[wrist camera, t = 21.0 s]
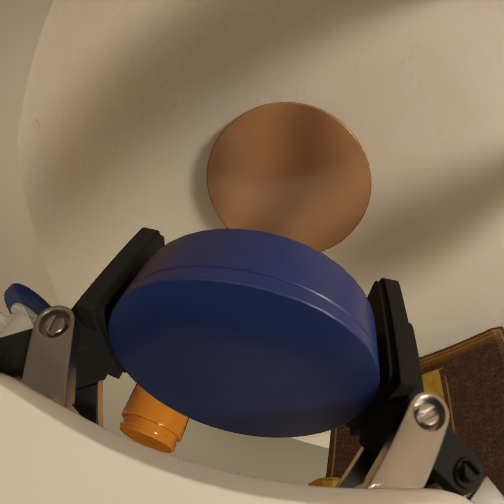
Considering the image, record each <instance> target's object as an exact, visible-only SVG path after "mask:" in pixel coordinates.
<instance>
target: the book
mask: <svg viewBox="0 0 504 504" xmlns="http://www.w3.org/2000/svg"><path fill="white" fill-rule="evenodd" d="M419 361H420V367H421V373H422V380H423V387H424V392H432V393H434V394H437V395H438V396H439V397H441V398H442V399H443V400H444V402H445V403H446V405H447V407H448V409H449V415H450V418H449V424H448V427H449V428H450V429H451V430H452V431H453V432H454V433H455V434H456V435H457V436H458V437H459V438H460V439H461V440H462V441H463V442H464V443H465V444H466V445H467V446H468V447H469V448H470V449H471V450H472V451H473V452H474V453H475V454H476V455H477V456H478V457H479V459H480V460H481V462H482V465H483V472H484V473H483V478H484V477H486V476H487V477H488V478H489V479H490V480H491V482H492V483H493V484H494V485H495V486H496V488H497V489H498V490H499V491H500V492H501V494H502V495H503V496H504V328H503V327H498V328H493V329H490V330H488V331H486V332H483V333H481V334H479V335H477V336H475V337H472V338H470V339H468V340H465V341H463V342H461V343H458V344H456V345H453V346H451V347H448V348H446V349H443V350H441V351H438V352H435V353H433V354H430V355H427V356H425V357H422V358H419ZM359 438H360V436H350V427H346V424H344V425H342V426H339V427H337V428H334V429H331V435H330V446H329V456H328V465H327V473H326V477H325V478H319V479H316V480H314V481H313V482H311V483H309V484H308V485H310V486H321V487H335V486H336V484H337V483H338V482H339V480H340V479H341V477H342V476H343V474H344V473H345V471H346V470H347V468H348V467H349V465H350V464H351V462H352V461H353V459H354V457H355V456H356V454H357V453H358V451H359V449H360V448H361V446H362V445H361V444H360V443H359Z"/></svg>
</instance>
